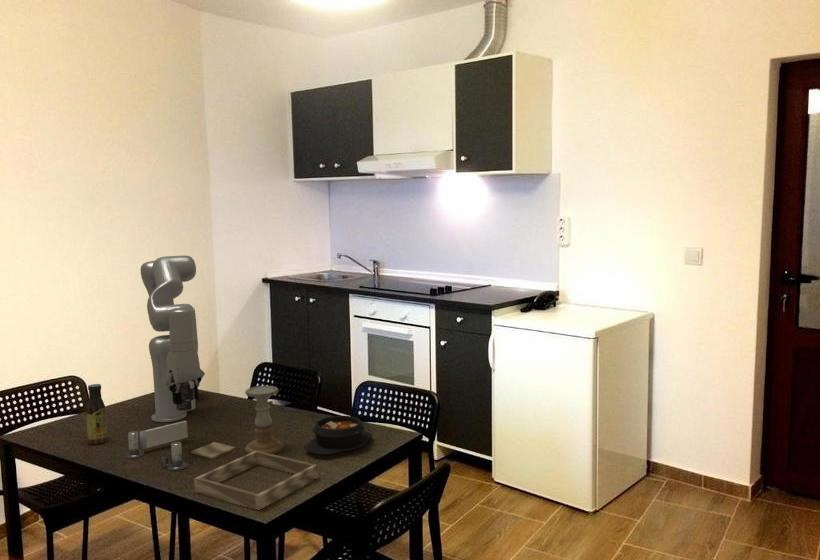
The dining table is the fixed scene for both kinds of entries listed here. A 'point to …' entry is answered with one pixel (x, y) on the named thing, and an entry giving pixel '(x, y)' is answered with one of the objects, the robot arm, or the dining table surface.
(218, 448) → the coaster
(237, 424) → the dining table surface
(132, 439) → the gate posts
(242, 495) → the square wooden frame
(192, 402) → the pill bottle
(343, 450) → the casserole
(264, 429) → the candle holder
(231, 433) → the dining table surface
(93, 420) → the sauce bottle
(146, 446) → the gate
